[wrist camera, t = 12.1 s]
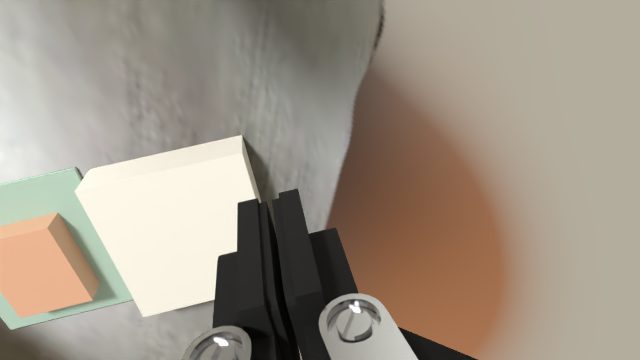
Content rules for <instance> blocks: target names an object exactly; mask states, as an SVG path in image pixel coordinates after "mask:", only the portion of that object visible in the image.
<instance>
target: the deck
mask: <svg viewBox="0 0 640 360" xmlns="http://www.w3.org/2000/svg"><path fill="white" fill-rule="evenodd" d="M74 192H75V193H76V195H77V197H78V199H79V201H80V203H81V204H82V206H83V208H84V210H85V212H86V213H87V215H88V217H89V219H90V221H91V223H92V224H93V226H94V228H95V230H96V232H97V233H98V235H99V237H100V239H101V241H102V243H103V244H104V246H105V248H106V250H107V252H108V253H109V255H110V257H111V259H112V261H113V263H114V264H115V266H116V268H117V270H118V272H119V273H120V275H121V277H122V279H123V281H124V282H125V284H126V286H127V288H128V290H129V292H130V293H131V295H132V297H133V299H134V301H135V302H136V304H137V306H138V308H139V310H140V312H141V313H142V315H143V317H146V316H150V315H154V314H158V313H162V312H166V311H170V310H174V309H178V308H182V307H187V306H191V305H195V304H199V303H203V302H207V301H211V300H215V287H216V273H217V261H218V257H219V255H223V254H227V253H232V252H236V251H237V206H238V203H239V202H243V201H247V200H251V199H256V198H258V200H259V203H261V199H260V196H259V192H258V189H257V185H256V182H255V178H254V175H253V171H252V168H251V164H250V161H249V158H248V154H247V151H246V147H245V144H244V140H243V137H242V135H240V136H235V137H231V138H227V139H222V140H218V141H213V142H209V143H204V144H200V145H195V146H191V147H187V148H182V149H178V150H173V151H169V152H164V153H160V154H156V155H151V156H147V157H142V158H138V159H133V160H129V161H124V162H120V163H116V164H111V165H107V166H102V167H98V168H93V169H89V171H88V172H87V174H86V175H85V177H84V178H83V180H82V181H81V183H80V184H79V185H78V187H77V188H76V190H75V191H74Z"/></svg>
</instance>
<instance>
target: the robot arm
mask: <svg viewBox="0 0 640 360" xmlns="http://www.w3.org/2000/svg"><path fill="white" fill-rule="evenodd" d="M272 203H273V211H274V219H275V227H276V233H275V229H274V226H273V222H272V219H271V215H270V212H269V208H268V205H267V202H261V203H259V200H258V198H256V199H251V200H247V201H243V202H239V203H238V206H237V251H236V252H232V253H227V254H223V255H219V257H218V261H217V273H216V287H215V300H214V314H213V328H212V329H211V330H209V331H207V332H205V333H203V334H201V335H200V336H199V337H198V338H196V339H195V340H194V341H193V342H192V343H191V345H190V346H189V347H188V348H187V349H186V352H185V354H184V356H183V358H182V360H300V353H301V356H302V359H303V360H477V359H475V358H472V357H470V356H468V355H465V354H463V353H460V352H458V351H455V350H453V349H451V348H448V347H446V346H443V345H441V344H438V343H436V342H434V341H431V340H429V339H426V338H424V337H421V336H419V335H417V334H414V333H412V332H409V331H407V330H404V329H402V328H399V327H397V325H396V324H395V322H394V321H393V319H392V318H391V316H390V314H389V313H388V311H387V310H386V308H385V307H384V306H383V304H382V303H381V302H380V301H379V300H377V299H375V298H373V297H372V296H369V295H365V294H359V293H358V290H357V287H356V284H355V282H354V279H353V276H352V273H351V270H350V267H349V264H348V261H347V258H346V256H345V253H344V250H343V247H342V244H341V241H340V238H339V235H338V232H337V230H336V228H331V229H327V230H322V231H318V232H314V233H310V234H308V230H307V226H306V221H305V217H304V213H303V209H302V205H301V201H300V196H299V192H298V189H294V190H290V191H285V192H281V193H279V198H278V199H274V200H272ZM276 235H277V237H276ZM298 346H299V347H298ZM299 349H300V353H299Z"/></svg>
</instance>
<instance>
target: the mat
mask: <svg viewBox="0 0 640 360" xmlns="http://www.w3.org/2000/svg"><path fill="white" fill-rule="evenodd" d="M81 181H82V178H81V176H80V174H79V172H78V170H77V168H76V167H74V168H70V169H65V170H61V171H56V172H52V173H47V174H43V175H38V176H34V177H29V178H25V179H21V180H16V181H12V182H7V183H3V184H0V226H3V225H7V224H11V223H15V222H20V221H24V220H28V219H32V218H37V217H41V216H45V215H49V214H54V213H59V215H60V217H61V218H62V220H63V222H64V223H65V225H66V227H67V228H68V230H69V232H70V233H71V235H72V237H73V238H74V240H75V242H76V243H77V245H78V247H79V248H80V250H81V252H82V254H83V255H84V257H85V259H86V260H87V262H88V264H89V265H90V267H91V269H92V270H93V272H94V274H95V275H96V277H97V279H98V280H99V282H100V285H99V287H98V289H97V292H96V294H95V296H94V299H93V301H88V302H84V303H80V304H76V305H72V306H68V307H64V308H60V309H56V310H52V311H48V312H44V313H40V314H36V315H32V316H28V317H24V318H20V317H19V315H18V314H17V313H16V311H15V310H14V309H13V308H12V306H11V305H10V304H9V302H8V301H7V300H6V299H5V297H4V296H3V295H2V293H1V292H0V317H1V318H2V319H3V321H4V322H5V323H6V324H7V326H8V327H9V328H10V329H11V330H12V329H16V328H20V327H24V326H28V325H32V324H36V323H40V322H44V321H48V320H52V319H56V318H60V317H65V316H69V315H73V314H77V313H81V312H85V311H89V310H93V309H97V308H101V307H105V306H109V305H114V304H118V303H122V302H126V301H130V300H134V299H133V297H132V295H131V293H130V292H129V290H128V288H127V286H126V284H125V282H124V281H123V279H122V277H121V275H120V273H119V272H118V270H117V268H116V266H115V264H114V263H113V261H112V259H111V257H110V255H109V253H108V252H107V250H106V248H105V246H104V244H103V243H102V241H101V239H100V237H99V235H98V233H97V232H96V230H95V228H94V226H93V224H92V223H91V221H90V219H89V217H88V215H87V213H86V212H85V210H84V208H83V206H82V204H81V203H80V201H79V199H78V197H77V195H76V193H75V192H74V191H75V190H76V188H77V187H78V185H79V184H80V183H81Z"/></svg>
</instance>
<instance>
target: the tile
mask: <svg viewBox="0 0 640 360" xmlns="http://www.w3.org/2000/svg"><path fill="white" fill-rule="evenodd" d="M99 285H100V282H99V280H98V279H97V277H96V275H95V274H94V272H93V270H92V269H91V267H90V265H89V264H88V262H87V260H86V259H85V257H84V255H83V254H82V252H81V250H80V248H79V247H78V245H77V243H76V242H75V240H74V238H73V237H72V235H71V233H70V232H69V230H68V228H67V227H66V225H65V223H64V222H63V220H62V218H61V217H60V215H59V213H54V214H49V215H45V216H41V217H37V218H32V219H28V220H24V221H20V222H15V223H11V224H7V225H3V226H0V292H1V293H2V295H3V296H4V297H5V299H6V300H7V301H8V302H9V304H10V305H11V306H12V308H13V309H14V310H15V311H16V313H17V314H18V315H19V317H20V318H24V317H28V316H32V315H36V314H40V313H44V312H48V311H52V310H56V309H60V308H64V307H68V306H72V305H76V304H80V303H84V302H88V301H93V299H94V296H95V294H96V292H97V289H98V287H99Z"/></svg>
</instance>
